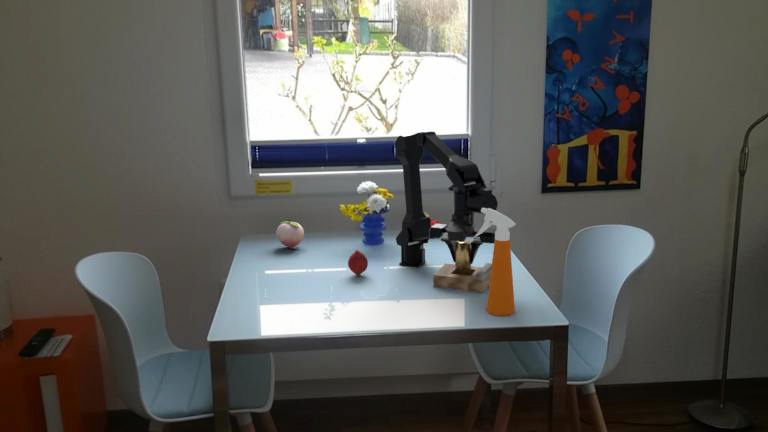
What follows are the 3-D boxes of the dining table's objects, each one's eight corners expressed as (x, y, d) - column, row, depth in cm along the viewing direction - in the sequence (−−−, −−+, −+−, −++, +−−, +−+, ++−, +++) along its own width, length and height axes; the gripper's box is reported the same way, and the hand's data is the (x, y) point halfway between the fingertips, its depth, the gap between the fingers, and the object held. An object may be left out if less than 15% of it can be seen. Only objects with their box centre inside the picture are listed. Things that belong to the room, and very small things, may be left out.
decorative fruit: (310, 246, 238) (308, 217, 236) (294, 253, 232) (293, 223, 229) (288, 243, 243) (287, 214, 241) (272, 249, 237) (270, 220, 234)
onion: (371, 273, 210) (370, 247, 208) (362, 279, 205) (362, 252, 203) (353, 271, 213) (353, 245, 211) (344, 276, 208) (344, 250, 206)
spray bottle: (479, 301, 186) (481, 203, 180) (518, 308, 181) (521, 208, 174) (468, 310, 180) (469, 209, 174) (508, 318, 175) (511, 214, 168)
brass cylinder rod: (453, 274, 198) (453, 243, 196) (457, 269, 202) (458, 239, 200) (468, 276, 197) (468, 245, 194) (472, 271, 201) (473, 241, 198)
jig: (433, 286, 198) (433, 269, 197) (445, 274, 208) (445, 258, 207) (482, 292, 193) (482, 275, 191) (492, 280, 202) (492, 263, 201)
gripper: (421, 212, 191) (422, 267, 195) (489, 218, 184) (488, 275, 188) (435, 203, 201) (435, 256, 205) (500, 208, 194) (498, 263, 198)
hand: (463, 262), depth 199 cm, fingers closed on brass cylinder rod, 4 cm apart
